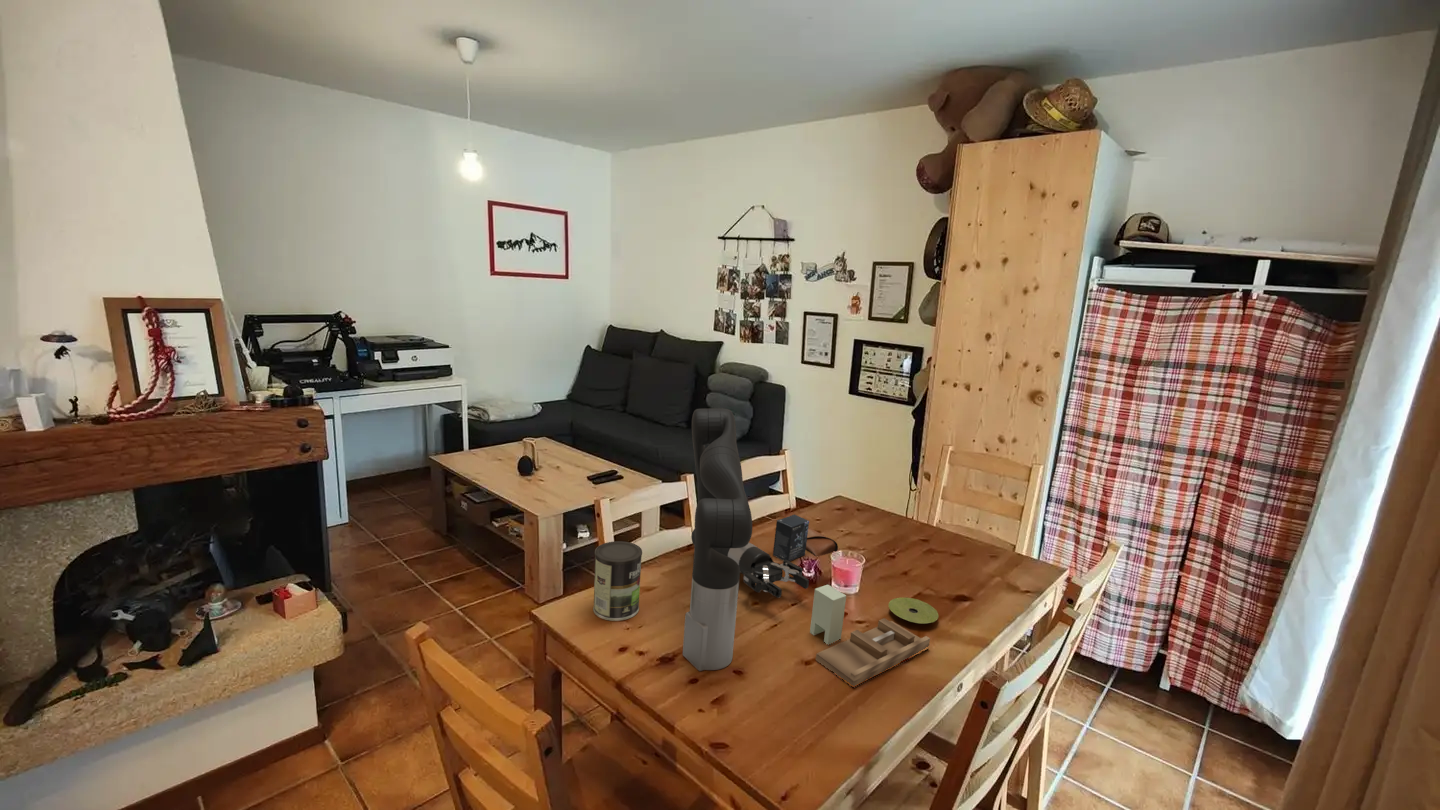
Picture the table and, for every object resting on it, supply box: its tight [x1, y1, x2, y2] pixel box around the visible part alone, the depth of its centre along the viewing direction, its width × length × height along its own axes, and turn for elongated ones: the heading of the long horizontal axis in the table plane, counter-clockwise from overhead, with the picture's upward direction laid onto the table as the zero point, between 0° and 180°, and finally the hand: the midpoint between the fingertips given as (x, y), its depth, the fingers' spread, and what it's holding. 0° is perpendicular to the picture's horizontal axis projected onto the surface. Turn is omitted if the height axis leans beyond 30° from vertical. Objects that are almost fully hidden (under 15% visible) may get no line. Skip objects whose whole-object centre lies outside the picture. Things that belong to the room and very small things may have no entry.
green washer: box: [888, 597, 939, 625], centre depth 143 cm, size 11×11×2 cm
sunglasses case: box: [806, 526, 839, 558], centre depth 180 cm, size 18×7×7 cm
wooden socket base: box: [815, 617, 931, 686], centre depth 127 cm, size 24×10×4 cm, turn 127°
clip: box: [809, 584, 847, 646], centre depth 132 cm, size 4×5×10 cm
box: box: [772, 514, 810, 562], centre depth 169 cm, size 8×6×11 cm
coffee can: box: [592, 540, 643, 622], centre depth 136 cm, size 10×10×14 cm
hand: (794, 589), depth 140 cm, fingers open, 8 cm apart
